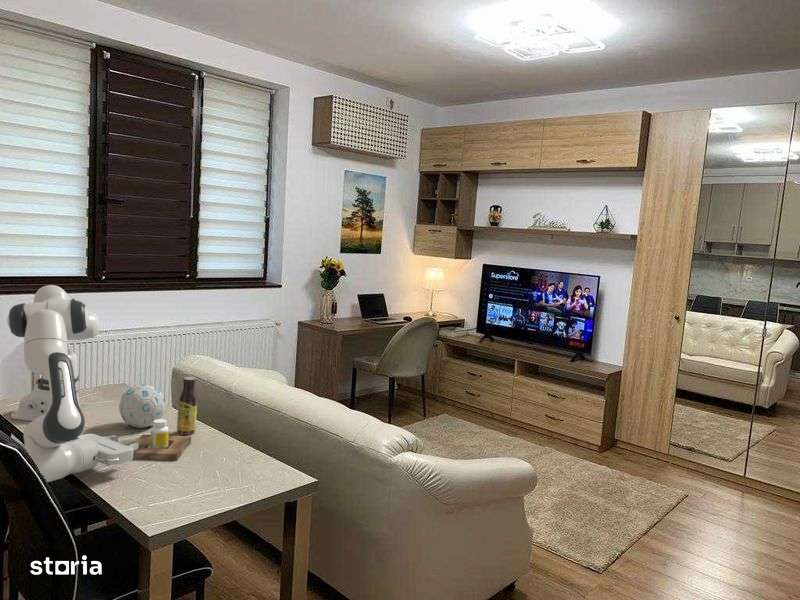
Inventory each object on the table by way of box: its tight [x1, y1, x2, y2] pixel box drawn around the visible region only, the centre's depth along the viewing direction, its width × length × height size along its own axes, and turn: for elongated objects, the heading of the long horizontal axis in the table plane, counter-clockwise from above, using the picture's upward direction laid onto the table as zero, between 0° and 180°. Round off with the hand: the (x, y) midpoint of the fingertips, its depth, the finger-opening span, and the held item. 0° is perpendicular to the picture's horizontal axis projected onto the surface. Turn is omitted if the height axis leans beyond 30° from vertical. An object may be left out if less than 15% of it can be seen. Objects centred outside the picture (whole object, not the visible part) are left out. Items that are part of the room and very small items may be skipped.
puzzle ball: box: [118, 384, 166, 429], centre depth 217 cm, size 15×15×15 cm
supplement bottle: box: [149, 418, 170, 449], centre depth 197 cm, size 5×5×10 cm
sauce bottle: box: [176, 376, 198, 436], centre depth 213 cm, size 7×6×20 cm
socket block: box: [133, 434, 192, 461], centre depth 197 cm, size 16×16×2 cm
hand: (126, 441), depth 186 cm, fingers open, 8 cm apart
